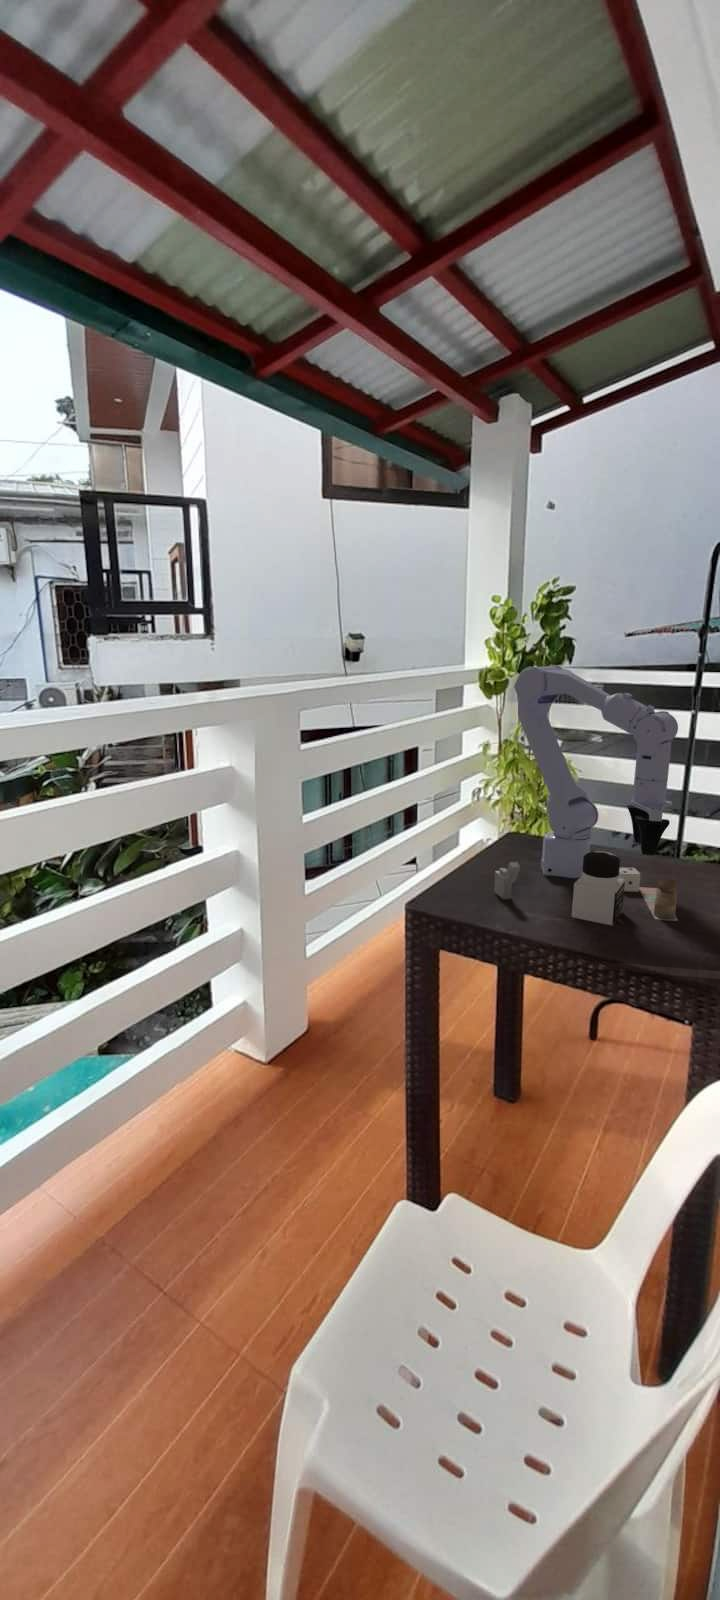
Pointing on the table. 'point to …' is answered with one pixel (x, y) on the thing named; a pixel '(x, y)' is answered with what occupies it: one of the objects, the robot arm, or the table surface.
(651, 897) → the board
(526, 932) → the table surface
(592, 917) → the medicine bottle
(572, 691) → the robot arm
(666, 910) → the pawn
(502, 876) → the grey notched upright piece
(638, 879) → the die
